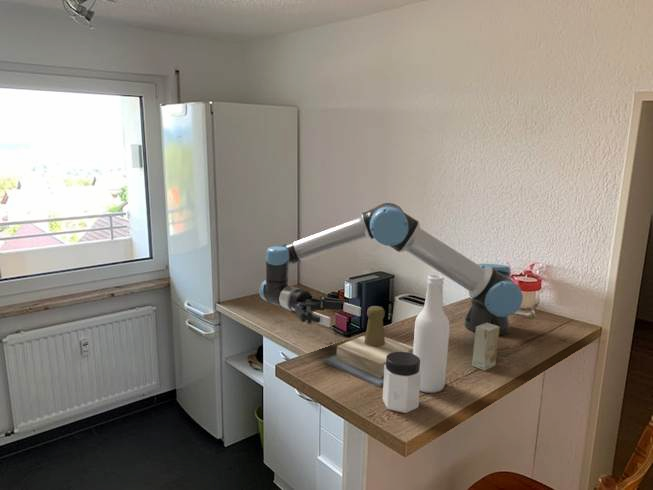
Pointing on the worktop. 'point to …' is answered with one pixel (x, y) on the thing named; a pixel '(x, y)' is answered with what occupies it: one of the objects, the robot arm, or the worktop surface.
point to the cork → (375, 327)
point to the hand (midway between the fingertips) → (345, 317)
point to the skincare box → (485, 346)
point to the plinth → (365, 358)
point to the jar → (401, 381)
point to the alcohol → (432, 338)
